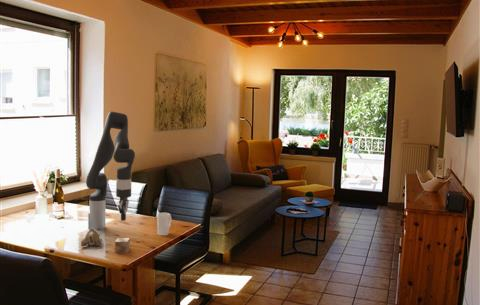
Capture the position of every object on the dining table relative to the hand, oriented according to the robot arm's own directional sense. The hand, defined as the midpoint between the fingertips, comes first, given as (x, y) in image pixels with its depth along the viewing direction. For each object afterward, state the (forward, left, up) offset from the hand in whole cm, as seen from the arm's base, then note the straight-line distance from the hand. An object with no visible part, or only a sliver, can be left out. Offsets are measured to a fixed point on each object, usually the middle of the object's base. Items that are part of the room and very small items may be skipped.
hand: (123, 220), depth 234 cm
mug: (+17, +30, -16) cm, 38 cm away
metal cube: (0, -3, -9) cm, 10 cm away
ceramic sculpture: (-18, +6, -16) cm, 25 cm away
